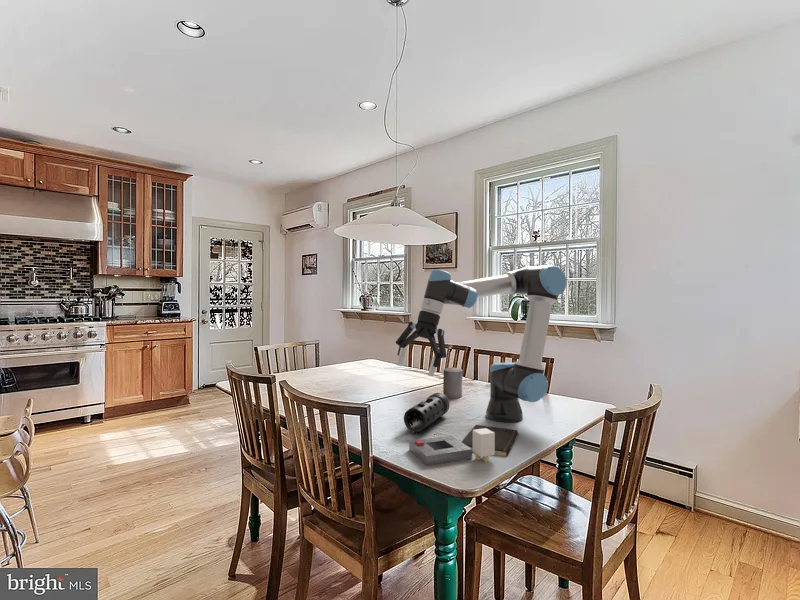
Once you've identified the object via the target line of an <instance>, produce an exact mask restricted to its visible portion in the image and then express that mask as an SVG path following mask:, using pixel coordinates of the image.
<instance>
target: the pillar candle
mask: <svg viewBox="0 0 800 600" xmlns="http://www.w3.org/2000/svg"><path fill="white" fill-rule="evenodd" d="M442 377H443V379H442V380H443V385H442V386H443V387H442V388H443V391H442V394H444V395H446V396H447V398H448V399H460V397H461V398H463V369H462V368H458V367H454V366H451V367H445V368H443V375H442Z"/></svg>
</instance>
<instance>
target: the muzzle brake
mask: <svg viewBox="0 0 800 600" xmlns="http://www.w3.org/2000/svg"><path fill="white" fill-rule="evenodd" d="M450 405H451V404H450V398H447V396H446V395H444V394H443V392H434V393H433V394H431V395H429V396H428V397H427V398H426V399H424V400H422V401H420V402H419V403H417V404H415V405H413V406H412V407H411V408H409V409H407V410H406V411H405V413H404V415H403V422H404V425H405V427H406V428H407V429H408V430H409V431H411V432H413V434H415V435H417V434H419V433H420V432H421V431H423V430H425V429H426V428H427V427H428V426H429V425H431V424H432V423H434V422H436V421H437V420H438V419H439V418H441V417H443V416H444V415H445V414H447V413H448V411H449V409H450Z"/></svg>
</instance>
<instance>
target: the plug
mask: <svg viewBox="0 0 800 600" xmlns="http://www.w3.org/2000/svg"><path fill="white" fill-rule="evenodd" d="M472 453H475V457H474V458H475V460H481V459H482V461H484V462H485V463H486V462H487V463H488V462H489V457H490V456H495V455H496V454H495V433H494V432H492V431H491V430H489V429H487V428H483V429H475V430H473V451H472Z"/></svg>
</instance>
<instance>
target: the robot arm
mask: <svg viewBox="0 0 800 600" xmlns="http://www.w3.org/2000/svg"><path fill="white" fill-rule="evenodd" d="M566 288H567V277H566V274H565V273H564V270H562V268H560V267H559V266H556V265H550V264H545V265H538V266H537V265H536V266H535V265H534V266H527V267H522V268H519V269H515V270H512V271H511V270H510V271H506V272H504V273H503V274H502V275H495V276H489V277H483V278H476V279H472V280H465V281H459V282H458V281H457V282H456V281H454V280H452V274H451V273H450V272H448V271H446V270H442V269H435V268H434V269H433V270H431V272H430V274H429V278H428V280H427V285H426V288H425V291H424V296H423V299H422V302H421V305H420V311H419V313H418V317H417V322H416V323H415V322H413V321H412V320H410V321H409V322H408V324H407V326H406V328H405V330H404V331H403V332H402V333H401V334H400V336H399V337H397V339H396V341H395V344H396V345H397V346H398V350H397V351H398V352H397V356H398V357H397V360H396V364H395V365H396V366H400V367H402V366H403V363H404V360H405V358H406V357H405V356H406V353H407V346H408V345H410V344H411V343H412V342H414V340H416V339H418V338H419V337H420V338H422V339H426V340H428V341H429V344H430V346H431V349H432V352H433V354H434V355H433V356H432V358H431V362H430V365H429V369H428V372H427V376H429V377H434V375H435V371H436V369H437V368H438V367H439V365H440V361H441V359H445V358H447V350H446V342H445V337H444V335H445V329H442V328H438V326H439V323H440V319H441V316H440V315H442V311H443V307H444V305H454V306H456V305H457V306H460V307H462V308H467V309H470V308H472V307H474V305H475V304H476V303H477V300H478V299H480V298H485V297H490V296H491V297H492V296H495V295H496V296H497V295H502V294H507V295H515V294H516V295H517V294H518V295H519V294H520V295H521V294H522V295H526V297H527V299H528V301H529V304H528V309H527V315H526V320H525V326H524V331H523V337H522V343H521V346H520V353H519V358H518V360H516V361H515V362H496V363H492V364H491V365H490V369H489V379H490V386H489V387H490V391H489V393H490V394H489V395H490V397H489V401H488V405H487V407H486V411H485V417H486V418H487V419H489V420H491V421H494V422H495V421H496V422H502V423H515V422H519V421H522V420H523V417H524V415H523V414H524V413H523V410H522V406H521V403H520V401H519V400H521V401H523V402H528V403H536V402H538V401H540V400H541V399H542V398H544V396H546V395H547V392H548V389H549V381H548V380H547V377H546V375H544V373H545V368H544V367H543V366H542V362H543V357H544V352H545V345H546V340H547V336H548V328H549V323H550V318H551V312H552V307H553V305H554V304H555V303H556V302H558V297H559V296H560V295H562V294H563V292H564V291H565V290H566ZM414 329H415V330H414ZM413 330H414V331H413ZM435 334H436V335H437V336H435ZM436 337H437V340H436ZM437 342H438V343H437Z"/></svg>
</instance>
